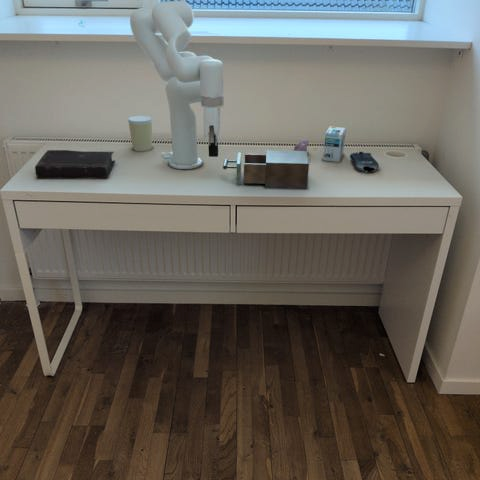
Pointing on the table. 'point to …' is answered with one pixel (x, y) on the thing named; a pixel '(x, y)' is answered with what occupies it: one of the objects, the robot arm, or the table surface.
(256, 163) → the drawer
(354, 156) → the electronic device
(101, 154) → the diary
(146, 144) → the coffee cup
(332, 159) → the light bulb box
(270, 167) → the cabinet
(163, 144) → the table surface
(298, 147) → the video game controller
